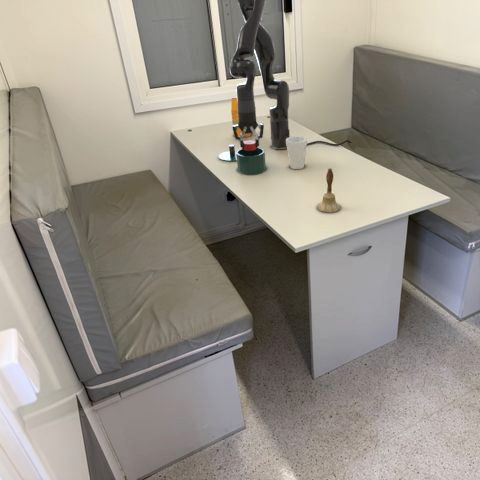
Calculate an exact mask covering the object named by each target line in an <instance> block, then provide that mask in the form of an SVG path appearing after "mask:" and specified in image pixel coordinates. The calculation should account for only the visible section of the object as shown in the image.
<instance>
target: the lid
mask: <svg viewBox="0 0 480 480" xmlns="http://www.w3.org/2000/svg"><path fill="white" fill-rule="evenodd" d="M236 151H237V150H236V149H235V144H229V145H228V150H227V151H223V152H221V153H220V154H218V159H219V160H220V161H222V162H237V155H236Z"/></svg>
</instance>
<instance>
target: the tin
mask: <svg viewBox="0 0 480 480" xmlns="http://www.w3.org/2000/svg"><path fill="white" fill-rule="evenodd" d="M235 151H236V155H237V161H236V164H237V171H238V172H239V173H241V175H242V174H243V175H247V176H253V175H258V174H261V173H264V171H266V168H267V167H266V152H265V149H264V148H261V147H258V148H256V149H255V150H252V151H246V150H244V149H242V148H241V147H240V148H239V149H238V150H235Z"/></svg>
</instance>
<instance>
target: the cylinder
mask: <svg viewBox="0 0 480 480" xmlns="http://www.w3.org/2000/svg"><path fill="white" fill-rule="evenodd" d="M243 144H244V150H246V151H252V150H255V149H256V141H255V140H253V139H248V140H243Z"/></svg>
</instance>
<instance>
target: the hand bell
mask: <svg viewBox="0 0 480 480" xmlns="http://www.w3.org/2000/svg"><path fill="white" fill-rule="evenodd" d="M325 177H326V179H325V180H326V185H327V187H326V192H325V193H323V196H322V199H321V202H320V203H319V204H318V206H317V209H318V210H319V211H321V212H322V213H328V214H329V213H336V212H338V211H339V210H340V205H339V204H338V202H337V200H336V194H335V193H333V192H332V185H333V181H334V173H333V169H332V168H328V169H327V172H326V176H325Z"/></svg>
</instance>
